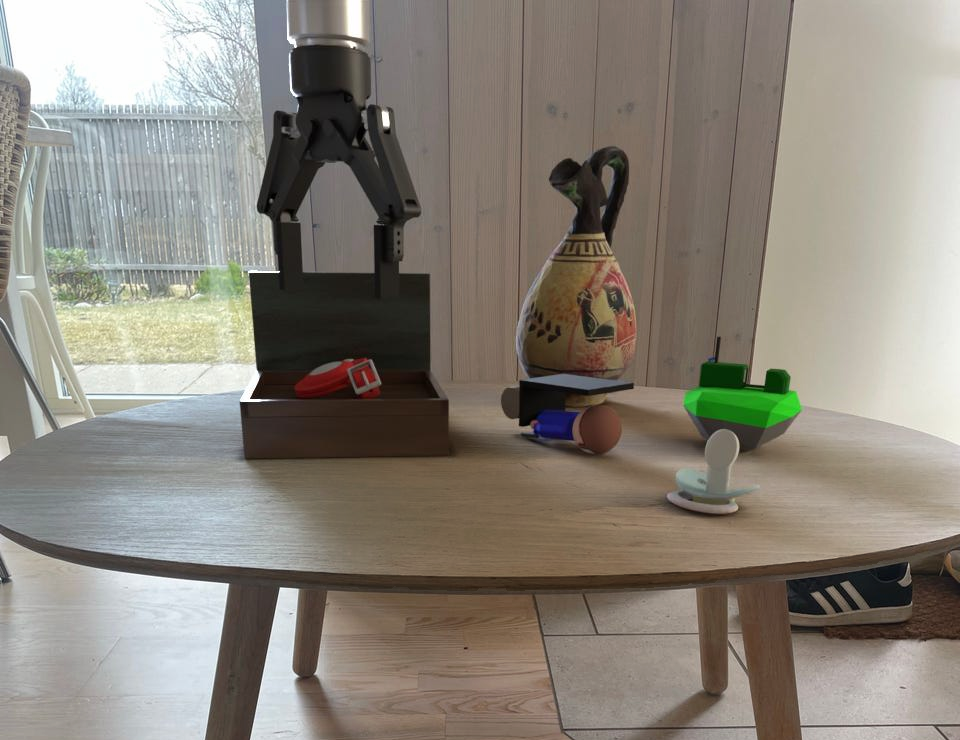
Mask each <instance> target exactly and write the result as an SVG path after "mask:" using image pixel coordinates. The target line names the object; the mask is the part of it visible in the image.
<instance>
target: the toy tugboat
mask: <svg viewBox="0 0 960 740" xmlns="http://www.w3.org/2000/svg"><path fill="white" fill-rule="evenodd" d="M721 342H722V336H716V345H715V351H714V352H715V353H714V356H712V357H708V359H707V361H705V362H703V363H702V364H701V365H700V372H699V380H698V386H697V387H694V388H692V389H690V390H688V391H686V392H685V393H684V399H683V406H682V407H684V409H685V411H686V413H687V414H688V416H689V418H690V419H691V421H692V423H693V424H694V426H695V428H696V429H697V432H698V433H699V434H700V436H701V437H703V438H704V439H705V440H706V441H708V440H709V438H710V437H711V436H712V434H714V433H715V432H716V431H718V430H721V429H727V430H730V431H732V432H733V433H734V434H735V435H736V437H737V438H738V441H739V452H742V453H744V452H748V451H752V450H755V449H758V448H760V447H762V446H763V445H765V444H767V443H769V442H771V441H774V440H776V439H777V438H779V437H781V436H783V435H784V434H785V433H787V431H788V429H789V428H790V426H791V425H792V424H794V423H793V422H794V421H795V420H796V419H797V417H798V416H799V415H800V414H801V412H802V411H803V407H802V404H801V402H800V399H799V395H798V393H797V391H796V390H790V384H791V379H792V377H791V376H790V374H789V373H788V371H787V370H786V369H781V368H770V369H768V370H766V371H765V377H764V385H763V384H762V385H761V384H752V383H751V384H750V383H747V382H748V377H749V376H748V375H749V368H750V367H749V365H748V364H745V363H735V362H723V361H720V362H719V357H720V348H721Z"/></svg>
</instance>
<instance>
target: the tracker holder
mask: <svg viewBox="0 0 960 740" xmlns="http://www.w3.org/2000/svg"><path fill="white" fill-rule="evenodd" d="M368 365H371V368H372V370H373V372H372V370H371V368H370V367H369V366H368ZM373 373H374V374H373ZM374 375H375V376H374ZM350 384H352V385H353V388H354V390H355V393H356V394H357V395H358V394H361V399H372V398H374V397H377V396H379V395H380V391H379V388H378V386H380V385H381V381H380V379H379V376H378V374H377V371H376V369H375V366H374V364H373V361H372V360H371V359H369V360H367V359H366V358H362V359H357V360H353V359H345V360H343V361H334V362H331V363H327V364H324V365H322V366H320V367H317V368H315V369H314V370H312V371H311V372H309V373H308V374H307V375H306V377H305V378H304V379H302V380H301V381H299V382H298V383H297V384H296V385H295V388H294V389H295V391H296V395H297V396H298V397H299V398H312V397H317V396H321V395H324V394H328V393H331V392H334V391H337V390H339V389H341V388H344V387H346V386H348V385H350Z"/></svg>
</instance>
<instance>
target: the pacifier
mask: <svg viewBox="0 0 960 740" xmlns="http://www.w3.org/2000/svg"><path fill="white" fill-rule="evenodd" d="M739 453H740V451H739V441H738V438H737V437H736V435H735V434H734V433H733V432H732V431H730V430H727V429H721V430H718V431H716V432H715V433H714V434H712V436H711V437H710V438H709V440H707V442H706V445H705V448H704V458H705V462H706V464H707V471H706V474H705V473H704V472H702V471H699V470H696V469H693V468H688V467H683V468H680V469H679V470H677V472H676V474H675V482H676V485H677V486H678V487H679V488H680V489H681V490H676V491H674V490H673V491H672V492H669V493H668V494H667V499H668V500H669V502H671V503H672V504H674V505H676V506H678V507H681V508H683V509H687V510H691V511H695V512H700V513H707V514H717V515H718V514H719V515H720V514H723V515H724V514H732V513H735V512H736V511H738V510H739V505H738V504H737V502H735V501H736V499H737V498H742V497H744V496H747V495H750V494H752V493H755V492H756V491H758V490H760V486H761V485H760V484H757V485H753V486H750V487H746V488H737V489H729V485H730V478H731V471H732V465H733V464H734V463H735V461H736V460H737V458H738V455H739ZM699 482H700V483H699ZM701 483H702V484H701ZM689 499H692V500H689Z"/></svg>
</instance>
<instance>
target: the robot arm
mask: <svg viewBox="0 0 960 740" xmlns="http://www.w3.org/2000/svg"><path fill="white" fill-rule="evenodd" d="M285 1H286V2H285V3H286V30H287V31H286V33H287V40H288V42H289V43H290V44H291V45H294V47H293V48H292V49H291V50H290V52H289V53H288V62H289V63H288V66H289V68H288V69H289V84H290V85H289V86H290V93H292V95H293V96H295V98H296V100H297V111H296V112H292V111H285V110H278V109H277V110H275V111H274V113H273V122H272V123H273V124H272V125H273V127H272V139H271V144H270V148H269V152H268V157H267V159H266V160H267V161H266V165H265V169H264V172H263V177H262V181H261V186H260V190H259V194H258V198H257V202H256V211H257V213H258V214H261V215H265V216H266V217H268V218H269V219H270V221H271V222H272V233H273V248H274V249H273V250H274V254H275V255H276V256H277V269H278V271H277V272H279V290H304V288H303V272H304V270H303V269H304V268H303V247H302V244H303V243H302V225H301V223H302V222H299V221H300V219H299V218H298V217H297V214H298V211H299V210H300V208H301V205H302V203H303V202H304V199H305V197H306V195H307V194H308V191H309V190H310V187H311V185H312V183H313V181H314V179H315V177H316V175H317V173H318V171H319V169H321V168H323V167H324V166H325V165H326V164H336V163H344V164H345V165H347V166H348V167H349V168H350V171H352V174H353V176H354V177H355V178H356V180H357V182H358V183H359V184H358V185H360V187H361V189H362V190H363V193H364V194H365V196H366V198H367V199H368V201H369V203H370V205H371V206H372V208H373V210H374V211H375V213H376V215H377V217H378V218H377V220H376V221H375V222H376V224H373V267H374V268H373V270H374V272H373V273H374V276H375V298H378V299H386V298H399V273H400V262H403V261H404V260H403V259H404V255H405V254H404V253H405V251H404V249H405V248H404V247H405V246H404V245H405V243H404V241H405V240H404V238H405V237H404V236H405V235H404V230H405V228H404V227H405V225H406V223H407V222H408V221H410V220H412V219H414V218H415V219H416V218H417V219H418V218H420V216H421V215H422V206H421V203H420V201H419V198H418V195H417V192H416V189H415V186H414V183H413V180H412V177H411V174H410V172H409V168H408V166H407V163H406V160H405V156H404V154H403V150H402V148H401V145H400V142H399V140H398V137H397V132H396V131H397V130H396V119H395V110H394V109H393V108H392V107H390V106H385V105H379V104H371V103H370V104H369V105H368V106H367V100H369V99H370V97H371V96H372V58H371V57H370V56H369V54H368V53H367V52H366V51H364V50H365V49H367V48H369V46H370V45H371V23H370V19H371V18H370V17H371V16H370V15H371V14H370V0H285ZM367 132H368V137H369V141H370V143H369V141H368V140H367V138H366V135H367ZM370 144H371V145H370Z"/></svg>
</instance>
